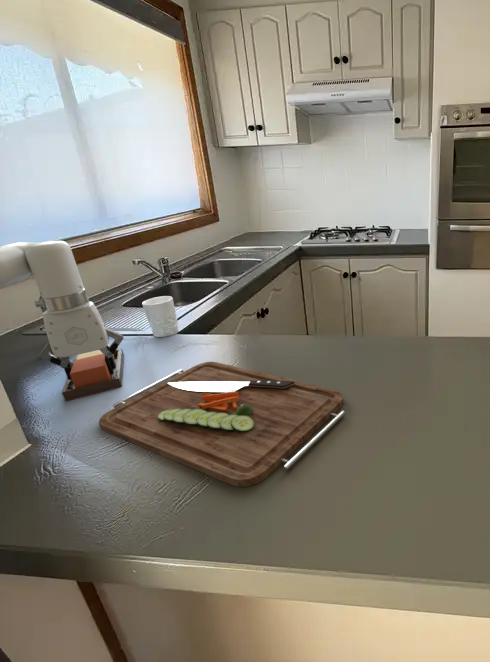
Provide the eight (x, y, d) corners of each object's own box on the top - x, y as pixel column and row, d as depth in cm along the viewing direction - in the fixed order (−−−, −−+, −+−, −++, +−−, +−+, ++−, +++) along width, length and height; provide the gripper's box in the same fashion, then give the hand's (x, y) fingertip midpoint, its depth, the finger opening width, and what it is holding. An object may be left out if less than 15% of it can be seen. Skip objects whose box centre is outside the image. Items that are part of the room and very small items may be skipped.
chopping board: (85, 423, 80) (80, 409, 79) (200, 363, 102) (197, 351, 100) (262, 497, 59) (258, 480, 58) (360, 401, 80) (359, 387, 79)
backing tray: (65, 401, 89) (61, 392, 88) (76, 366, 105) (73, 358, 104) (121, 386, 93) (119, 378, 92) (124, 355, 110) (121, 347, 109)
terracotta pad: (75, 390, 91) (69, 373, 89) (80, 375, 97) (74, 360, 96) (110, 381, 93) (104, 365, 92) (112, 367, 100) (106, 352, 98)
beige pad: (81, 377, 98) (75, 361, 96) (84, 364, 105) (79, 349, 103) (113, 369, 101) (107, 354, 99) (114, 357, 107) (109, 342, 106)
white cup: (161, 340, 117) (152, 306, 114) (145, 335, 122) (136, 303, 118) (186, 330, 124) (178, 297, 120) (170, 326, 128) (162, 294, 124)
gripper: (11, 315, 82) (45, 395, 88) (112, 296, 89) (136, 372, 96) (20, 305, 88) (51, 381, 95) (114, 288, 95) (136, 360, 102)
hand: (94, 375), depth 95 cm, fingers closed on terracotta pad, 6 cm apart
